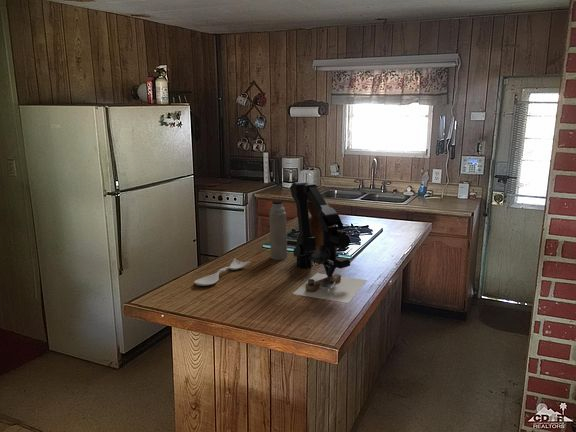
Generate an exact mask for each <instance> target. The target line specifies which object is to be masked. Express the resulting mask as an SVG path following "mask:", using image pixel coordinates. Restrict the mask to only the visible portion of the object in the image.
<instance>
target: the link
mask: <svg viewBox="0 0 576 432" xmlns="http://www.w3.org/2000/svg"><path fill="white" fill-rule="evenodd" d="M341 277H342V275H341V274H338V273H336V274H333V275H332V276H329V277H327V278H324V279H321V280H318V281H315V282H314V285H308V283H307V284H306V291H308V292H314V291H316V290H317V289H320V285H321V284H322V283H323V281H324V280H332V281H335V283H336V282H338V281H341Z"/></svg>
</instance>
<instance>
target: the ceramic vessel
mask: <svg viewBox="0 0 576 432" xmlns="http://www.w3.org/2000/svg"><path fill="white" fill-rule="evenodd" d="M325 202H326V203H327V205H328V206H329V207H330V205H329V203H328V202H327V201H326V200H325ZM307 205H308V213H309V214H310V217H309V224H310V233H311V235H312V236H313V237H315V239H316V250H319V249H320V246H321V245H322V244H323V230H320V228H321V227H322V225H321V224H320V221H319V219H318V211H317V210H316V208H315V206H314V205H313V203H312V202H311V200H310V198H308V201H307ZM331 227H335V226H331Z"/></svg>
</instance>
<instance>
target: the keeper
mask: <svg viewBox="0 0 576 432" xmlns="http://www.w3.org/2000/svg"><path fill="white" fill-rule="evenodd" d="M334 284H335V281H332V280H324V281H323V283H322V284H321V285H320V288H322V295H323V296H329V295H330V289H332V287H333V285H334Z"/></svg>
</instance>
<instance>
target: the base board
mask: <svg viewBox="0 0 576 432" xmlns="http://www.w3.org/2000/svg"><path fill="white" fill-rule="evenodd" d="M324 278H327V274H325V273H318V272H316V273H315V274H314V275H313V276H312V277H310V278H309V279H313V280H314V282H315V281H318V280H321V279H324ZM368 281H369V280H368V279H361V278H354V277H345V276H341V281H338V282H336V283H335V284H334V285H333V287H332V289H330V295H329V296H323V295H322V288H320V289H317V290H316V291H314V292H308V291H306V284H307V283H308V280H307V281H305V283H303V284H302V285H301V286H299V288H298V289H296V290H295V291H294V292H292V295H297V296H304V297H308V298H309V297H310V298H315V299H316V298H317V299H322V300H327V301H333V302H341V303H346V304H349V303H350V301H352V299H353V298H354V297H355V295H357V294H358V293H359V291H360V290H362V288H363V287H364V286H365V284H366V283H367V282H368Z"/></svg>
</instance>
